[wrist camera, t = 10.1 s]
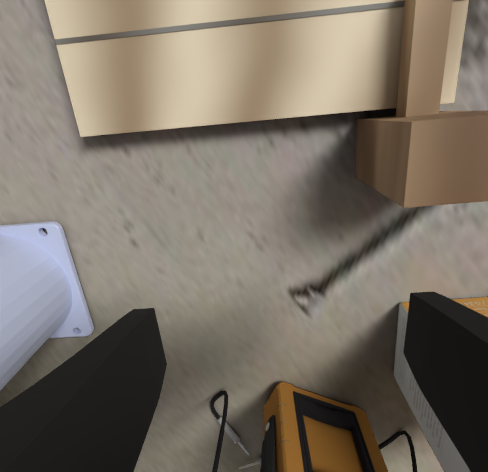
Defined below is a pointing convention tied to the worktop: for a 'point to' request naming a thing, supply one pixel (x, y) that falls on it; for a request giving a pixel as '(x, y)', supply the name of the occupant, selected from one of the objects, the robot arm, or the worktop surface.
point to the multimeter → (312, 435)
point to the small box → (417, 402)
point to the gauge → (424, 125)
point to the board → (232, 59)
